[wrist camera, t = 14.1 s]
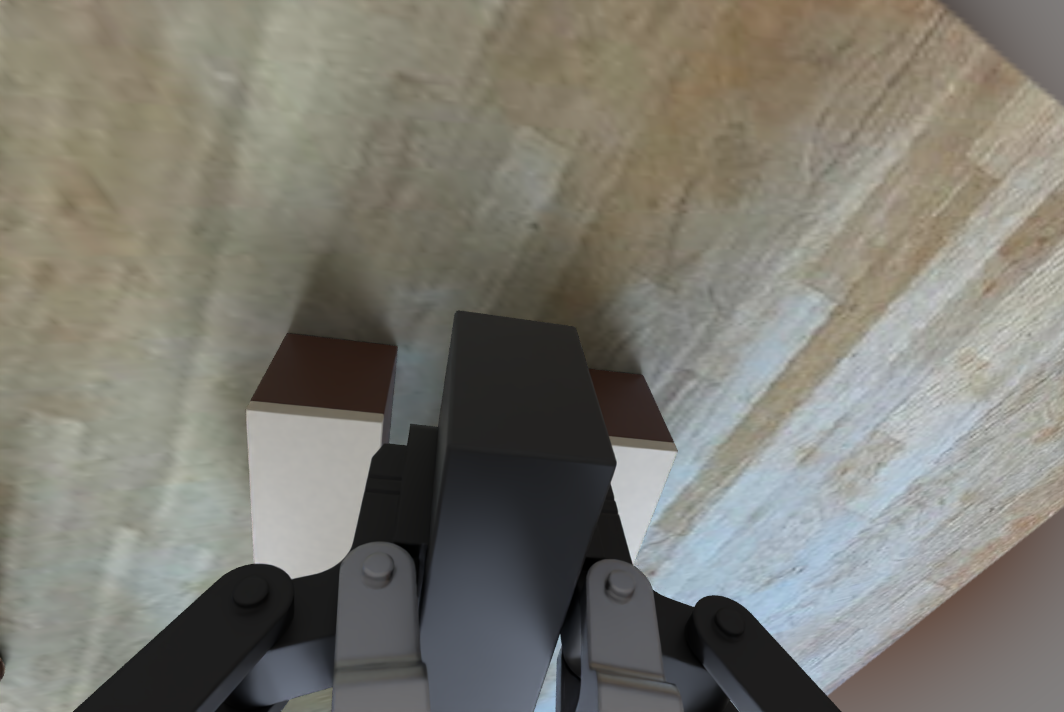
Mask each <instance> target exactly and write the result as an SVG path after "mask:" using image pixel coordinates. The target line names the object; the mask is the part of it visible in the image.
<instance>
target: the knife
mask: <svg viewBox="0 0 1064 712" xmlns="http://www.w3.org/2000/svg"><path fill="white" fill-rule="evenodd" d="M616 466H617V461H616V457H615V454H614V451H613V448H612V444H611V441H610V438H609V435H608V431H607V428H606V425H605V421H604V418H603V415H602V412H601V408H600V405H599V402H598V399H597V395H596V392H595V389H594V385H593V382H592V379H591V376H590V372H589V369H588V366H587V363H586V359H585V356H584V353H583V349H582V346H581V343H580V340H579V336H578V333H577V330H576V328H575V327H573V326H567V325H560V324H553V323H545V322H538V321H531V320H524V319H517V318H509V317H502V316H495V315H488V314H480V313H473V312H466V311H456V313H455V314H454V321H453V328H452V335H451V342H450V348H449V355H448V362H447V369H446V376H445V383H444V389H443V396H442V403H441V410H440V417H439V424H438V439H437V450H436V462H435V473H434V485H433V496H432V508H431V519H430V531H429V542H428V550H427V556H426V562H425V569H424V575H423V582H422V588H421V594H420V601H419V607H418V615H419V629H420V644H421V657H422V662H425V663H426V666H427V671H428V680H429V693H430V706H431V712H534V709H535V706H536V703H537V700H538V697H539V694H540V691H541V688H542V685H543V682H544V679H545V677H546V674H547V671H548V668H549V665H550V662H551V659H552V656H553V653H554V650H555V647H556V644H557V641H558V638H559V635H560V632H561V629H562V626H563V623H564V620H565V617H566V614H567V611H568V608H569V605H570V602H571V599H572V596H573V593H574V590H575V587H576V584H577V582H578V579H579V576H580V573H581V570H582V567H583V564H584V561H585V558H586V555H587V552H588V549H589V546H590V543H591V540H592V537H593V534H594V531H595V528H596V525H597V522H598V519H599V516H600V513H601V510H602V507H603V504H604V501H605V498H606V495H607V492H608V490H609V487H610V484H611V481H612V478H613V475H614V472H615V469H616Z"/></svg>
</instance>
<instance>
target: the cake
mask: <svg viewBox="0 0 1064 712" xmlns="http://www.w3.org/2000/svg"><path fill="white" fill-rule="evenodd" d="M589 372H590V376H591V379H592V382H593V385H594V389H595V392H596V395H597V399H598V402H599V405H600V408H601V412H602V415H603V418H604V421H605V425H606V428H607V431H608V435H609V438H610V441H611V444H612V448H613V451H614V454H615V457H616V461H617V466H616V469H615V472H614V475H613V478H612V481H611V486H612V490H613V494H614V497H615V498H614V501H616V505H617V508H618V515H619V516H620V519H621V523H622V527H623V530H624V534H625V538H626V541H627V545H628V549H629V552H630V556H631V560H632V563H633V565H634V562H635V560H636V557H637V555H638V552H639V549H640V547H641V544H642V542H643V539H644V537H645V534H646V532H647V529H648V526H649V524H650V521H651V519H652V516H653V514H654V511H655V509H656V506H657V503H658V501H659V498H660V496H661V493H662V491H663V488H664V486H665V483H666V480H667V478H668V475H669V473H670V470H671V468H672V465H673V463H674V460H675V457H676V455H677V452H678V450H677V448H676V446H675V444H674V441H673V439H672V437H671V435H670V432H669V430H668V428H667V426H666V424H665V422H664V419H663V417H662V415H661V413H660V411H659V408H658V406H657V404H656V402H655V400H654V398H653V395H652V393H651V391H650V389H649V387H648V384H647V382H646V380H645V378H644V376H643V375H638V374H630V373H621V372H613V371H605V370H596V369H589Z"/></svg>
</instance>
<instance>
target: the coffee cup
mask: <svg viewBox="0 0 1064 712" xmlns="http://www.w3.org/2000/svg"><path fill="white" fill-rule="evenodd" d="M4 673H5V665H4V663H3V661H2V659H1V658H0V681H1V679H2V678H3V676H4Z"/></svg>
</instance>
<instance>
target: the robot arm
mask: <svg viewBox="0 0 1064 712" xmlns="http://www.w3.org/2000/svg"><path fill="white" fill-rule="evenodd" d="M437 439H438V427H435V426H426V425H417V424H410V430H409V437H408V443H407V446H406V445H396V444H386V443H384V444H383V446H382V447H381V448H380V449H379V450H378V451H377V452H376V453H375V454H374V456H373V457H372V459H371V463H370V468H369V472H368V478H367V481H366V486H365V491H364V495H363V499H362V504H361V508H360V513H359V517H358V522H357V526H356V531H355V535H354V540H353V543H352V547H351V549H350V551H349V552H348V554H347V555H346V556H345V558H344V559H342V560H341V561H340V562H339V563H338V564H336V565H335V566H334V567H332V568H330V569H328V570H326V571H323V572H321V573H317V574H313V575H308V576H303V577H299V578H294V579H291V578H290V576H289V575H288V574H287V573H286V572H285V571H284V570H282V569H281V568H279V567H276V566H274V565H269V564H261V563H260V564H249V565H245V566H241V567H238V568H236V569H234V570H231V571H230V572H228V573H226V574H225V575H224V576H222V577H221V578H220V579H219V580H217V581H216V582H215V583H214V584H213V585H212V586H211V587H210V588H209V589H208V590H206V591H205V592H204V593H203V594H202V595H201V596H200V597H199V598H198V599H196V600H195V601H194V602H193V603H192V604H191V605H190V606H189V607H188V608H187V609H185V610H184V611H183V612H182V613H181V614H180V615H179V616H178V617H177V618H176V619H174V620H173V621H172V622H171V623H170V624H169V625H168V626H167V627H166V628H165V629H163V630H162V631H161V632H160V633H159V634H158V635H157V636H156V637H155V638H154V639H152V640H151V641H150V642H149V643H148V644H147V645H146V646H145V647H144V648H142V649H141V650H140V651H139V652H138V653H137V654H136V655H135V656H134V657H133V658H131V659H130V660H129V661H128V662H127V663H126V664H125V665H124V666H123V667H122V668H120V669H119V670H118V671H117V672H116V673H115V674H114V675H113V676H112V677H111V678H109V679H108V680H107V681H106V682H105V683H104V684H103V685H102V686H101V687H99V688H98V689H97V690H96V691H95V692H94V693H93V694H92V695H91V696H90V697H88V698H87V699H86V700H85V701H84V702H83V703H82V704H81V705H80V706H79V707H77V708H76V709H75V710H74V711H73V712H281V710H282V709H283V708H284V707H285V705H286V704H287V702H288V701H289V699H293V698H296V697H300V696H303V695H307V694H310V693H314V692H317V691H320V690H324V689H327V688H331V687H333V692H332V710H331V712H431V706H430V693H429V680H428V671H427V666H426V663H425V662H422V657H421V644H420V629H419V615H418V607H419V601H420V594H421V588H422V582H423V575H424V569H425V562H426V556H427V550H428V542H429V531H430V519H431V508H432V496H433V485H434V473H435V462H436V450H437ZM614 498H615V497H614V494H613V490H612V486H611V484H610V487H609V490H608V492H607V495H606V498H605V501H604V504H603V507H602V510H601V513H600V516H599V519H598V522H597V525H596V528H595V531H594V534H593V537H592V540H591V543H590V546H589V549H588V552H587V555H586V558H585V561H584V564H583V567H582V570H581V573H580V576H579V579H578V582H577V584H576V587H575V590H574V593H573V596H572V599H571V602H570V605H569V608H568V611H567V614H566V617H565V620H564V623H563V626H562V629H561V632H560V635H561V643H562V646H561V649H560V652H559V655H558V658H557V672H556V712H739V711H740V712H841V711H840V710H839V709H838V708H837V706H836V705H835V704H834V703H833V702H832V701H831V700H830V699H829V698H828V697H827V695H826V694H825V693H824V692H823V691H822V690H821V689H820V688H819V687H818V686H817V685H816V684H815V682H814V681H813V680H812V679H811V678H810V677H809V676H808V675H807V674H806V673H805V672H804V670H803V669H802V668H801V667H800V666H799V665H798V664H797V663H796V662H795V661H794V660H793V659H792V657H791V656H790V655H789V654H788V653H787V652H786V651H785V650H784V649H783V648H782V647H781V645H780V644H779V643H778V642H777V641H776V640H775V639H774V638H773V637H772V636H771V635H770V634H769V632H768V631H767V630H766V629H765V628H764V627H763V626H762V625H761V624H760V623H759V622H758V620H757V619H756V618H755V617H754V616H753V615H752V614H751V613H750V612H749V611H748V610H747V609H746V608H744V607H743V606H742V605H740V604H739V603H737V602H736V601H734V600H731V599H729V598H726V597H723V596H715V595H712V596H706V597H703V598H702V599H700V600H699V601H698V602H697V603H696V605H695V607H692V606H689V605H686V604H683V603H681V602H678V601H675V600H672V599H670V598H667V597H665V596H662V595H660V594H659V593H657V592H655V591H654V590H653V589H652V586H651V584H650V582H649V580H648V579H647V577H646V576H645V575H644V574H643V573H642V572H641V571H640V570H639V569H637V568H636V567H635V566H633V563H632V560H631V556H630V552H629V549H628V545H627V541H626V538H625V534H624V530H623V527H622V523H621V519H620V516H619V515H618V508H617V505H616V501H614ZM730 700H731V701H732V702H733V703H732V702H731V701H730ZM733 704H734V705H735V706H736V707H737V708H736V707H735V706H734V705H733ZM737 709H738V710H739V711H738V710H737Z"/></svg>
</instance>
